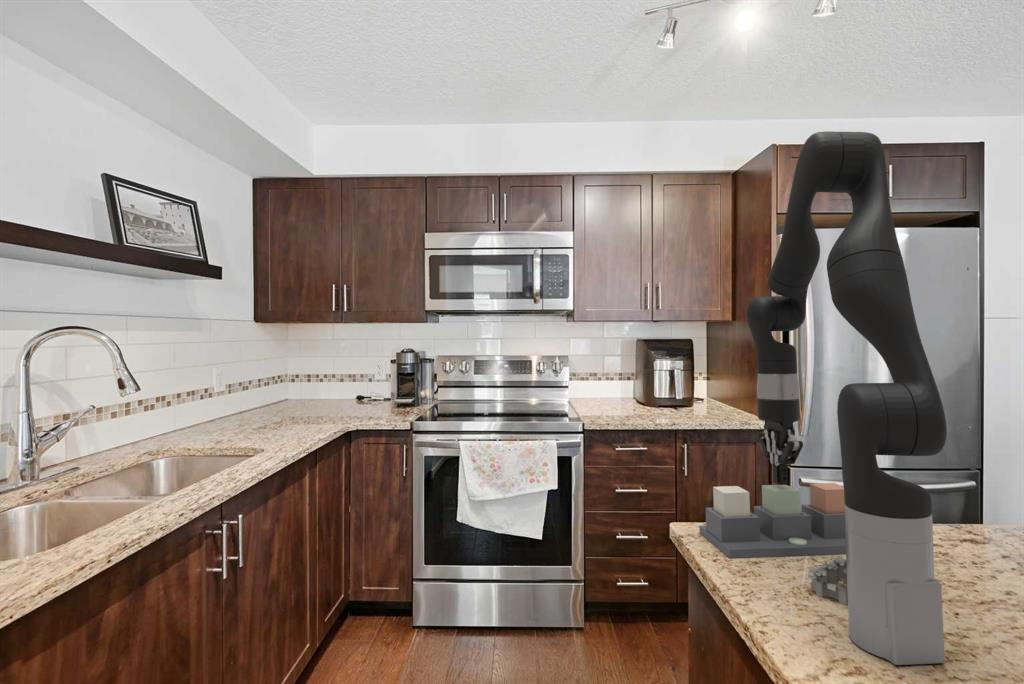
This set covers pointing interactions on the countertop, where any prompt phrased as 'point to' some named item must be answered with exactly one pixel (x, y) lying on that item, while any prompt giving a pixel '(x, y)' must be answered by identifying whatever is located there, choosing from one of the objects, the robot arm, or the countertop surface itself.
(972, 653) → the countertop surface
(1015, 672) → the countertop surface
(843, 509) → the terracotta key
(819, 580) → the grey ruined fortress
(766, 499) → the sage key
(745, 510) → the cream key
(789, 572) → the countertop surface
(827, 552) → the key panel
